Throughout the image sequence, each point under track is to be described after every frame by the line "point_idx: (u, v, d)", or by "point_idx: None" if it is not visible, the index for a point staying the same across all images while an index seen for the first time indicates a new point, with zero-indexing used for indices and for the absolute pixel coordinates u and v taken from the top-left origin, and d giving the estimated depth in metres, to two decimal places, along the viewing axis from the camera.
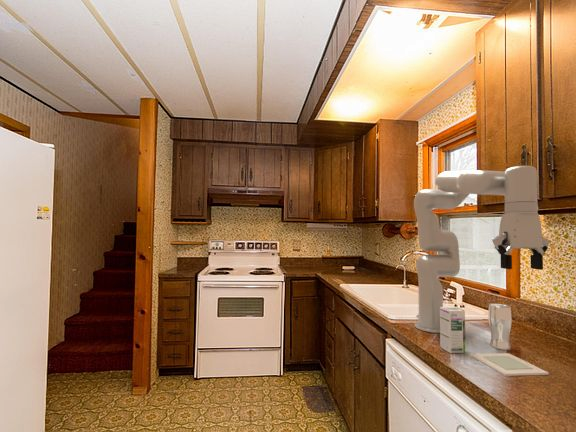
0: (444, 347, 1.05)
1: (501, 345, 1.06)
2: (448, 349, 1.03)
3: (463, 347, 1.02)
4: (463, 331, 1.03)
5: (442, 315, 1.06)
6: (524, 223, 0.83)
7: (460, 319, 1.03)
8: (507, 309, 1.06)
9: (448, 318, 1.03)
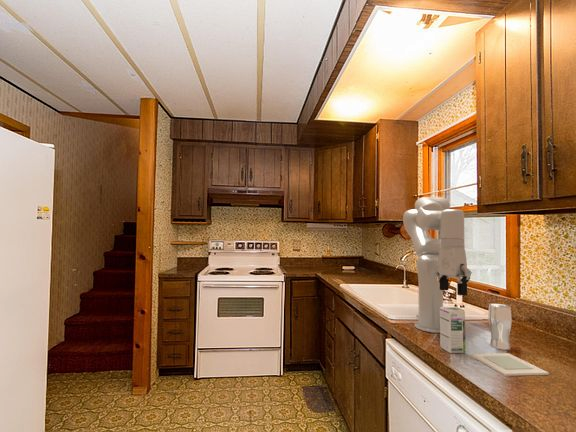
0: (444, 347, 1.05)
1: (501, 345, 1.06)
2: (448, 349, 1.03)
3: (463, 347, 1.02)
4: (463, 331, 1.03)
5: (442, 315, 1.06)
6: None
7: (460, 319, 1.03)
8: (507, 309, 1.06)
9: (448, 318, 1.03)
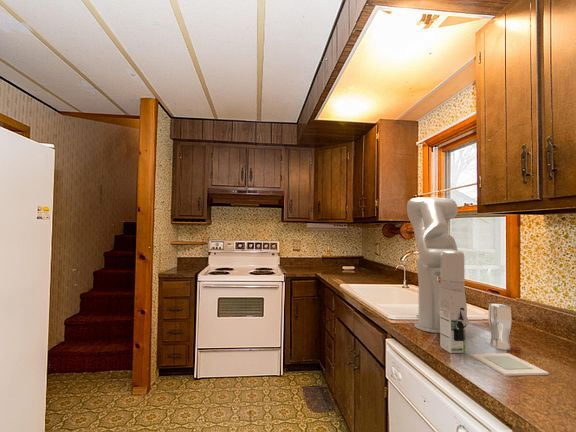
0: (444, 347, 1.05)
1: (501, 345, 1.06)
2: (448, 349, 1.03)
3: (463, 347, 1.02)
4: None
5: (442, 315, 1.06)
6: None
7: None
8: (507, 309, 1.06)
9: (448, 318, 1.03)
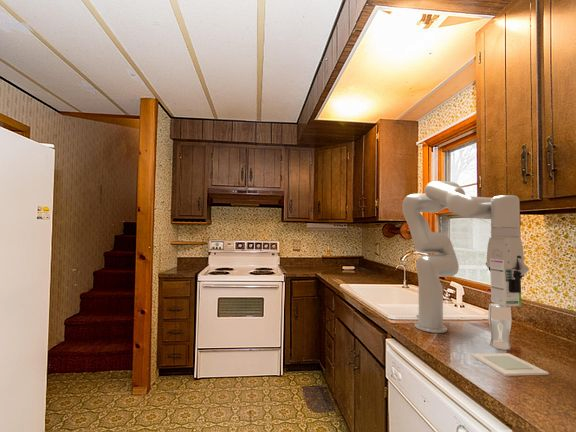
0: (496, 301, 0.95)
1: (501, 345, 1.06)
2: (502, 302, 0.93)
3: (519, 300, 0.92)
4: None
5: (493, 266, 0.97)
6: None
7: None
8: (507, 309, 1.06)
9: (502, 268, 0.93)
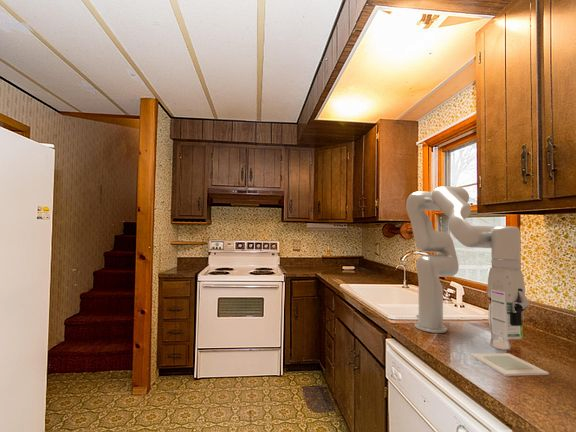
0: (498, 333, 0.94)
1: (501, 345, 1.06)
2: (503, 335, 0.92)
3: (520, 332, 0.92)
4: None
5: (494, 297, 0.96)
6: None
7: (516, 301, 0.92)
8: None
9: (503, 300, 0.93)
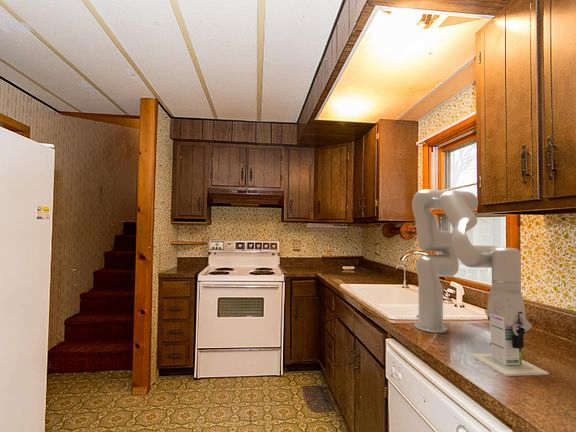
0: (497, 358, 0.94)
1: None
2: (502, 360, 0.92)
3: (519, 358, 0.92)
4: None
5: (493, 322, 0.96)
6: None
7: None
8: None
9: (502, 326, 0.93)
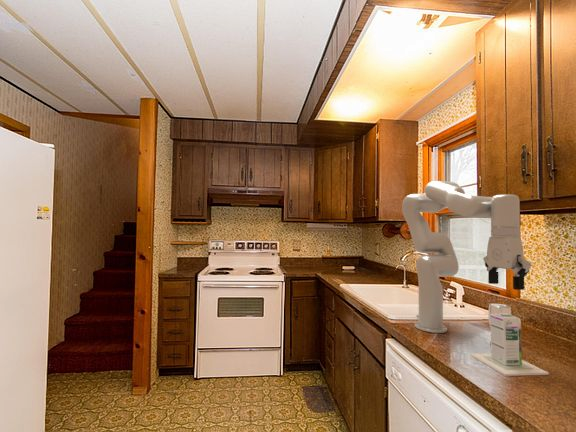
0: (497, 358, 0.94)
1: None
2: (502, 360, 0.92)
3: (519, 359, 0.92)
4: (519, 341, 0.92)
5: (493, 322, 0.96)
6: None
7: (515, 327, 0.92)
8: (507, 309, 1.06)
9: (502, 326, 0.93)
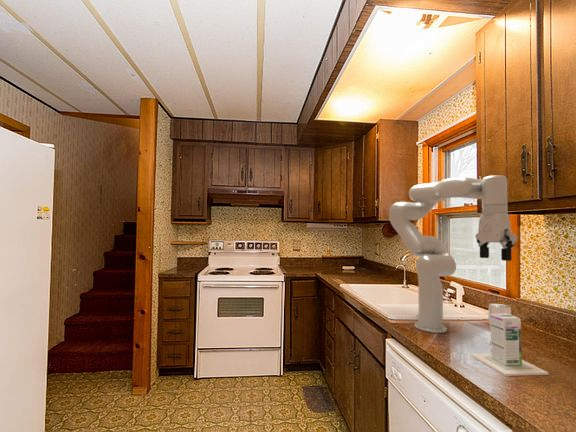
0: (497, 358, 0.94)
1: None
2: (502, 360, 0.92)
3: (519, 359, 0.92)
4: (519, 341, 0.92)
5: (493, 322, 0.96)
6: None
7: (515, 327, 0.92)
8: (507, 309, 1.06)
9: (502, 326, 0.93)
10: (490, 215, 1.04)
